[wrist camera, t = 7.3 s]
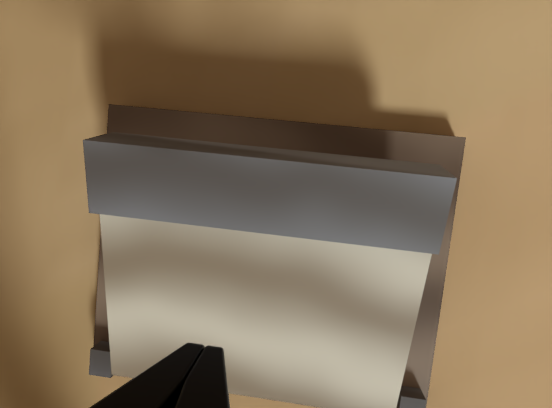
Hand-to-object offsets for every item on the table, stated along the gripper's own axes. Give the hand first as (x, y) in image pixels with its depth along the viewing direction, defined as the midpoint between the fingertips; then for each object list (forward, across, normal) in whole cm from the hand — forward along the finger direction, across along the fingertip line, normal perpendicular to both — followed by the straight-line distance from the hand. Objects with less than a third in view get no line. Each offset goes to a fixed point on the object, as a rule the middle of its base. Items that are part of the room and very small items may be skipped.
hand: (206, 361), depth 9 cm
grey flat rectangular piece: (+9, 0, +2) cm, 10 cm away
